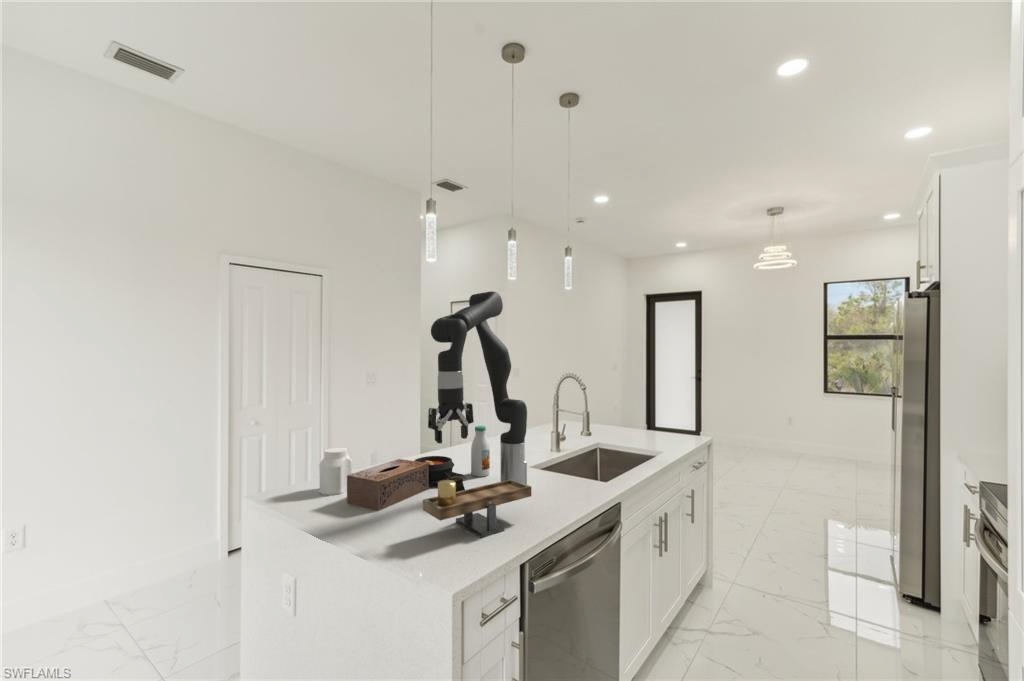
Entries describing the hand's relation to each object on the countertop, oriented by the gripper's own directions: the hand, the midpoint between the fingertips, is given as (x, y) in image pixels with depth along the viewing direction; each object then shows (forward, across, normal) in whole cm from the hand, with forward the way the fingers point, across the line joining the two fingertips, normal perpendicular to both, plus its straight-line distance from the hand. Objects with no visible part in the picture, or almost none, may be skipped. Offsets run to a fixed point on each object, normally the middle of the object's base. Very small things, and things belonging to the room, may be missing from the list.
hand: (451, 440), depth 138 cm
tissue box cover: (+26, +3, -38) cm, 47 cm away
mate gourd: (+26, -12, -19) cm, 35 cm away
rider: (+16, +5, +4) cm, 18 cm away
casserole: (+27, -18, -45) cm, 55 cm away
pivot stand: (+26, -6, +5) cm, 27 cm away
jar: (+26, +16, -58) cm, 65 cm away
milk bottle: (+27, -38, -40) cm, 62 cm away
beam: (+19, -6, +5) cm, 20 cm away
